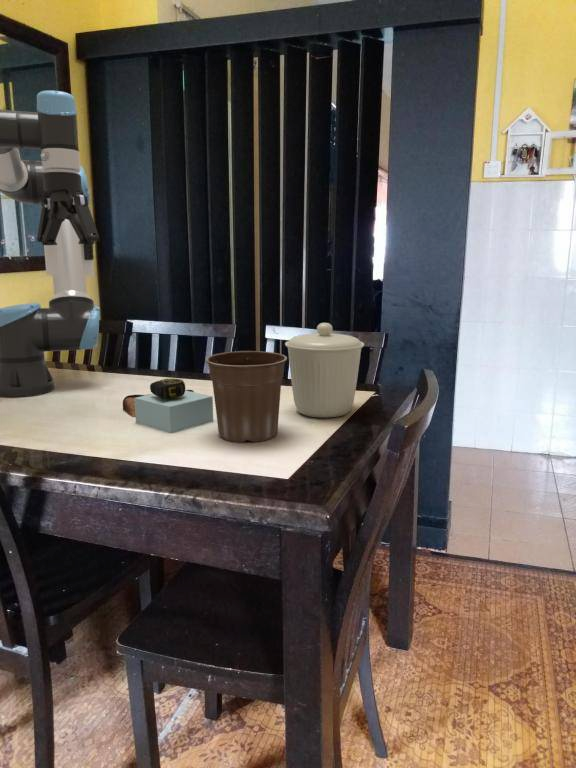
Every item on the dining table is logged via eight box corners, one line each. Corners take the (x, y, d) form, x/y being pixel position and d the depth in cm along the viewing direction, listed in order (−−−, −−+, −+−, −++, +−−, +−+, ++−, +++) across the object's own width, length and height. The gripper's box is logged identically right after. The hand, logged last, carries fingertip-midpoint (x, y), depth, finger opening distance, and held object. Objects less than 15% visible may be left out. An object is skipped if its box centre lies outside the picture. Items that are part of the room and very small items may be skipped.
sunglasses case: (130, 417, 135) (125, 390, 136) (125, 426, 141) (120, 399, 142) (206, 408, 143) (200, 382, 145) (198, 417, 149) (192, 392, 151)
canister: (335, 427, 127) (336, 329, 123) (269, 414, 138) (268, 323, 133) (376, 410, 141) (379, 322, 137) (313, 399, 152) (314, 317, 147)
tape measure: (149, 396, 131) (148, 380, 130) (179, 392, 134) (178, 376, 134) (159, 403, 125) (158, 385, 124) (190, 398, 129) (189, 381, 128)
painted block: (135, 424, 131) (134, 397, 130) (178, 413, 140) (177, 388, 139) (170, 434, 124) (169, 406, 122) (213, 422, 133) (212, 396, 131)
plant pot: (257, 452, 112) (256, 367, 108) (191, 438, 120) (188, 359, 117) (301, 430, 125) (301, 355, 122) (239, 419, 134) (238, 348, 130)
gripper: (14, 175, 129) (24, 274, 134) (79, 165, 114) (87, 277, 119) (47, 179, 135) (54, 274, 140) (112, 169, 120) (118, 276, 124)
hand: (69, 275), depth 129 cm, fingers open, 13 cm apart
